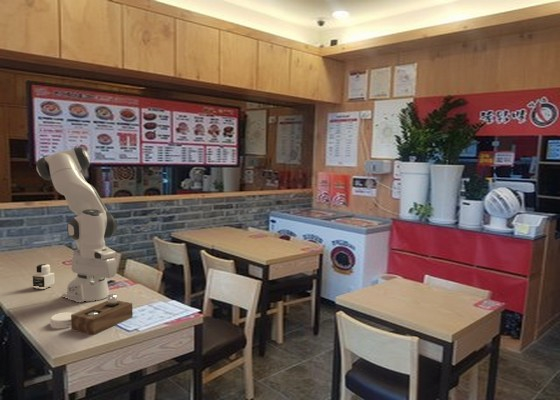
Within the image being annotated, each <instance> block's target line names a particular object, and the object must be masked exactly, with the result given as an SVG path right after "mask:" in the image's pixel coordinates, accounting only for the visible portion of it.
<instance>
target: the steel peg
mask: <svg viewBox="0 0 560 400" xmlns="http://www.w3.org/2000/svg"><path fill="white" fill-rule="evenodd" d="M106 298H107V301H108V307H114V306H117V301H118V295H117V293H114V294H113V293H112V294H109V295H108V296H107V297H106Z"/></svg>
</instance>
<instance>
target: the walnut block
mask: <svg viewBox="0 0 560 400" xmlns="http://www.w3.org/2000/svg"><path fill="white" fill-rule="evenodd" d="M94 311H95V312H98V313H97V314H95V315H93V316H92V315H88V313H89V312H94ZM132 318H133V303H132V302H127V301H122V300H117V306H114V307H108V300H106V301H103V302H101V303H97V304H96V305H93V306H90V307H87V308H84V309H82V310H80V311H76V312H75V313H74V314H72V315H71V330H72V331H77V332H80V333H85V334H89V335H93V336H95V335H97V334H99V333H101V332H103V331H106V330H108V329H110V328H112V327H114V326H116V325H118V324H120V323H122V322H126V321H127V320H129V319H132Z"/></svg>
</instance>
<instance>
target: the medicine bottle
mask: <svg viewBox="0 0 560 400" xmlns="http://www.w3.org/2000/svg"><path fill="white" fill-rule="evenodd" d="M55 281H56V279H55V272H51V265H50V264H48V263H43V264H38V265H37V266H36V274H32V286H39V287H46V286H49V285H51V284H54V283H55ZM55 284H56V283H55Z"/></svg>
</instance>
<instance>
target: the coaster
mask: <svg viewBox="0 0 560 400" xmlns="http://www.w3.org/2000/svg"><path fill="white" fill-rule="evenodd" d="M74 313H76V311H75V312H74V311H66V312H65V311H64V312H59V313H56V314H54V315H52V316H51V317H50V318H49V321H50V322H49V323H50V327H51V328H53V329H55V330H57V329H58V330H59V329H67V328H72V326H71V315H72V314H74Z"/></svg>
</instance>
